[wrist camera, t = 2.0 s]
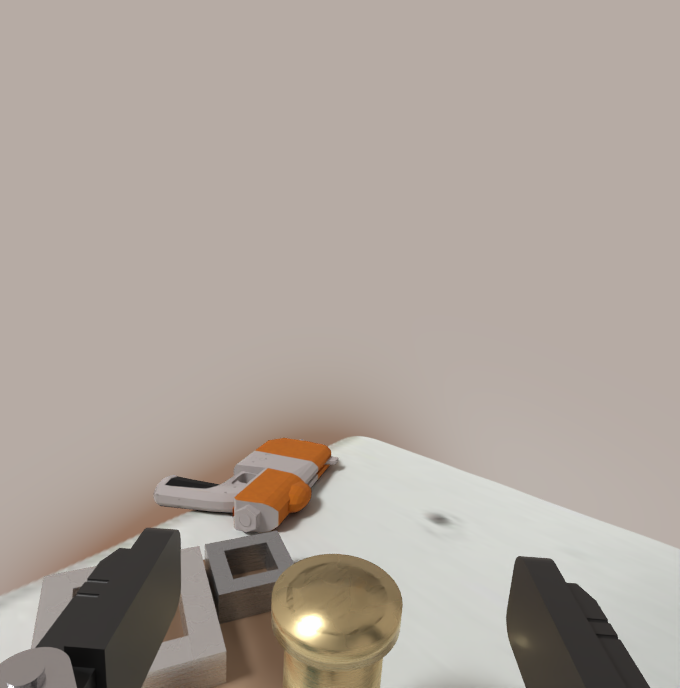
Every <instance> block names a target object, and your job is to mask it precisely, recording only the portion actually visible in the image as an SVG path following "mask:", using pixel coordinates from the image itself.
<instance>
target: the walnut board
mask: <svg viewBox="0 0 680 688" xmlns="http://www.w3.org/2000/svg"><path fill="white" fill-rule="evenodd" d="M203 563H204V566H205V560H203ZM263 572H267V570H266V568H265V569H260V570H256V571H251V572H247V573H242V574H238V575H233V576H232V577H233V579H236V578H240V577H245V576H249V575H254V574H258V573H263ZM220 628H221V632H222V636H223V640H224V644H225V648H226V684H222V685H219V686H216V687H212V688H283V667H284V649H283V648H282V647H281V645H280V644H279V642H278V641H277V639H276V637H275V635H274V633H273V629H272V625H271V611H270V612H266V613H262V614H258V615H254V616H250V617H246V618H242V619H239V620H235V621H231V622H227V623H223V624H220ZM181 637H184V634H183V628H182V622H181V616H180V610H179V604H178V607H177V611H176V613H175V616H174V618H173V620H172V622H171V625H170V627H169V629H168V631H167V633H166V635H165V637H164V640H163V642H165V641H169V640H173V639H177V638H181Z"/></svg>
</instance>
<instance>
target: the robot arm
mask: <svg viewBox="0 0 680 688" xmlns="http://www.w3.org/2000/svg"><path fill="white" fill-rule="evenodd" d="M180 593H181V539H180V532H179V530H173V529H160V528H146V529H144V531H143V532H142V533H141V535H140V536H139V538H138V539H137V541H136V542H135V544H134V545H133V546H132V548H131V549H125V548H119V549H118V550H116V551H115V552H113V553H112V554H110V555H109V556H108V557H106V558H105V559H103V560H102V561H100V562H99V564H98V565H97V566H96V568H95V569H94V570H93V572H92V573H91V574H90V576H89V577H88V578H87V582H84V584H83V585H82V586H81V588H80V589H79V590H78V592H77V595H76V596H74V597H73V598H72V600H71V601H70V602H69V604H68V605H67V606H66V608H65V609H64V610H63V611H62V613H61V614H60V615H59V617H58V618H57V619H56V621H55V622H54V623H53V625H52V626H51V627H50V629H49V630H48V631H47V633H46V634H45V635H44V637H43V638H42V639H41V641H40V642H39V643H38V645H37V646H36V647H35V648H33V649H29V650H26V651H23V652H20V653H18V654H16V655H14V656H12V657H10V658H8V659H6V660H5V661H3V662H2V663H0V688H141V687H142V685H143V683H144V681H145V679H146V676H147V674H148V672H149V670H150V668H151V666H152V663H153V661H154V659H155V657H156V655H157V653H158V650H159V648H160V646H161V644H162V642H163V640H164V637H165V635H166V633H167V631H168V629H169V627H170V625H171V622H172V620H173V618H174V616H175V613H176V611H177V607H178V604H179V599H180ZM506 622H507V633H508V638H509V641H510V644H511V647H512V650H513V653H514V656H515V658H516V661H517V664H518V667H519V670H520V672H521V675H522V678H523V681H524V683H525V686H526V688H650V687H649V685H648V683H647V682H646V680H645V679H644V677H643V675H642V674H641V672H640V671H639V669H638V667H637V666H636V664H635V663H634V661H633V659H632V658H631V656H630V655H629V653H628V651H627V650H626V648H625V647H624V645H623V643H622V642H621V640H618V635H617V634H616V632H615V631H614V629H613V627H612V626H611V624H610V623H608V619H607V618H606V616H605V614H604V613H603V611H602V610H601V608H600V606H599V605H598V603H597V602H596V600H595V599H593V598H592V597H591V596H590V595H589V594H588V593H587V592H585V591H584V590H583V589H582V588H581V587H580V586H579V585H578V584H575V583H566V582H565V580H564V578H563V576H562V575H561V573H560V571H559V569H558V568H557V566H556V564H555V563H554V561H553V560H552V559H549V558H535V557H522V556H518V557H517V558H516V561H515V564H514V570H513V576H512V582H511V588H510V595H509V601H508V607H507V615H506Z"/></svg>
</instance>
